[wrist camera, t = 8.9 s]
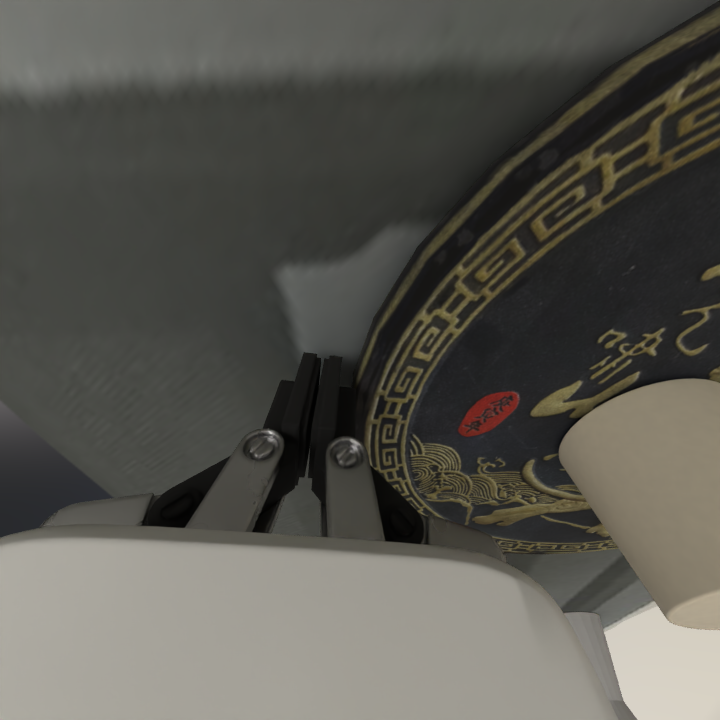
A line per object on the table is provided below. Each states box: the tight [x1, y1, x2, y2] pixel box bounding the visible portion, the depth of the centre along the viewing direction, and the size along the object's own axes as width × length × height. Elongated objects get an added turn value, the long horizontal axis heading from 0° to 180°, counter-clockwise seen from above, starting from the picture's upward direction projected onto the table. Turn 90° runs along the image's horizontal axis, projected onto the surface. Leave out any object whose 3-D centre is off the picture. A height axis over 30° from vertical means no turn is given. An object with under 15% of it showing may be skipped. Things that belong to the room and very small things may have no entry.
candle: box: [559, 378, 720, 630], centre depth 10 cm, size 7×7×7 cm
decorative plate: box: [352, 1, 720, 554], centre depth 14 cm, size 30×2×30 cm
